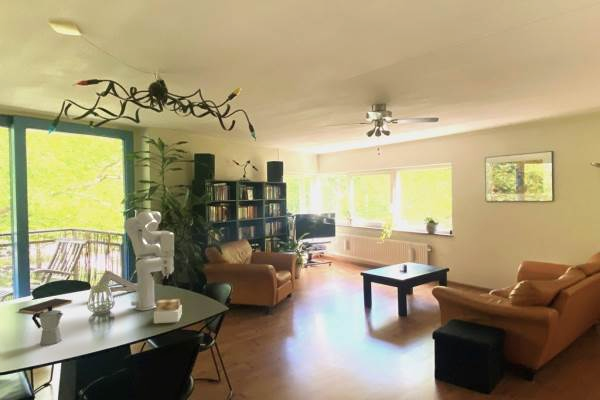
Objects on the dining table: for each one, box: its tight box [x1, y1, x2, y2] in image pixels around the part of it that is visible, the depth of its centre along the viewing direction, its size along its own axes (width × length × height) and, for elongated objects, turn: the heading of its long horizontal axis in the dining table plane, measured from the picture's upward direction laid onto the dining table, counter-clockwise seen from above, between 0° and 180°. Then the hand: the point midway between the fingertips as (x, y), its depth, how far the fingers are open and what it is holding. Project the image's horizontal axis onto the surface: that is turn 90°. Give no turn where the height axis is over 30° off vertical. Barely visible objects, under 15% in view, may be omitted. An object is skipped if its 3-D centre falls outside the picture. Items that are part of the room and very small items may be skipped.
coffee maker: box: [31, 305, 64, 347], centre depth 171 cm, size 15×9×18 cm, turn 92°
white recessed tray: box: [153, 304, 183, 324], centre depth 202 cm, size 13×12×6 cm
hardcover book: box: [18, 298, 73, 315], centre depth 226 cm, size 16×23×2 cm
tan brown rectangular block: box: [155, 298, 181, 311], centre depth 202 cm, size 12×5×8 cm, turn 98°
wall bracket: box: [96, 270, 138, 294], centre depth 250 cm, size 22×4×30 cm
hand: (167, 283), depth 202 cm, fingers open, 9 cm apart
